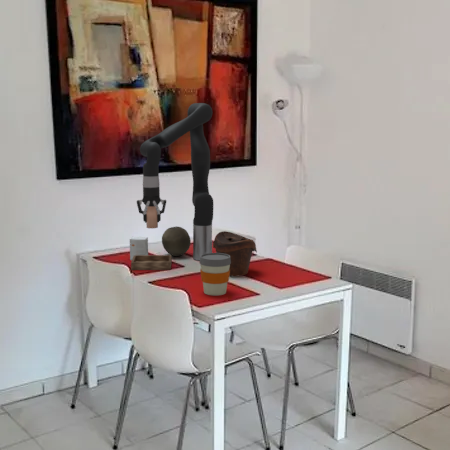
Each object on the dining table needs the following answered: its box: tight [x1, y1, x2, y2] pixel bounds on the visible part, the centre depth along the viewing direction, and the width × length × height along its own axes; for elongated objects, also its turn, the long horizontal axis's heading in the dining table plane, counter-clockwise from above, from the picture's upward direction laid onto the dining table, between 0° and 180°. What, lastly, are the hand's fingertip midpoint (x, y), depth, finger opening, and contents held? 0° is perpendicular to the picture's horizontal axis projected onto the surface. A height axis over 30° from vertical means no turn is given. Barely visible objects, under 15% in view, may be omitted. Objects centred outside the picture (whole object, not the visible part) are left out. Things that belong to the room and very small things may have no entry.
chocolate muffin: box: [212, 230, 258, 277], centre depth 281 cm, size 18×20×18 cm
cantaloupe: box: [161, 226, 192, 257], centre depth 311 cm, size 14×14×15 cm
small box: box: [129, 236, 149, 261], centre depth 305 cm, size 8×6×10 cm
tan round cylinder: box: [146, 206, 159, 229], centre depth 288 cm, size 5×5×10 cm
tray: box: [130, 254, 173, 271], centre depth 292 cm, size 18×14×4 cm
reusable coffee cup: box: [199, 252, 231, 296], centre depth 252 cm, size 13×13×15 cm
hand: (152, 222), depth 288 cm, fingers closed on tan round cylinder, 5 cm apart
